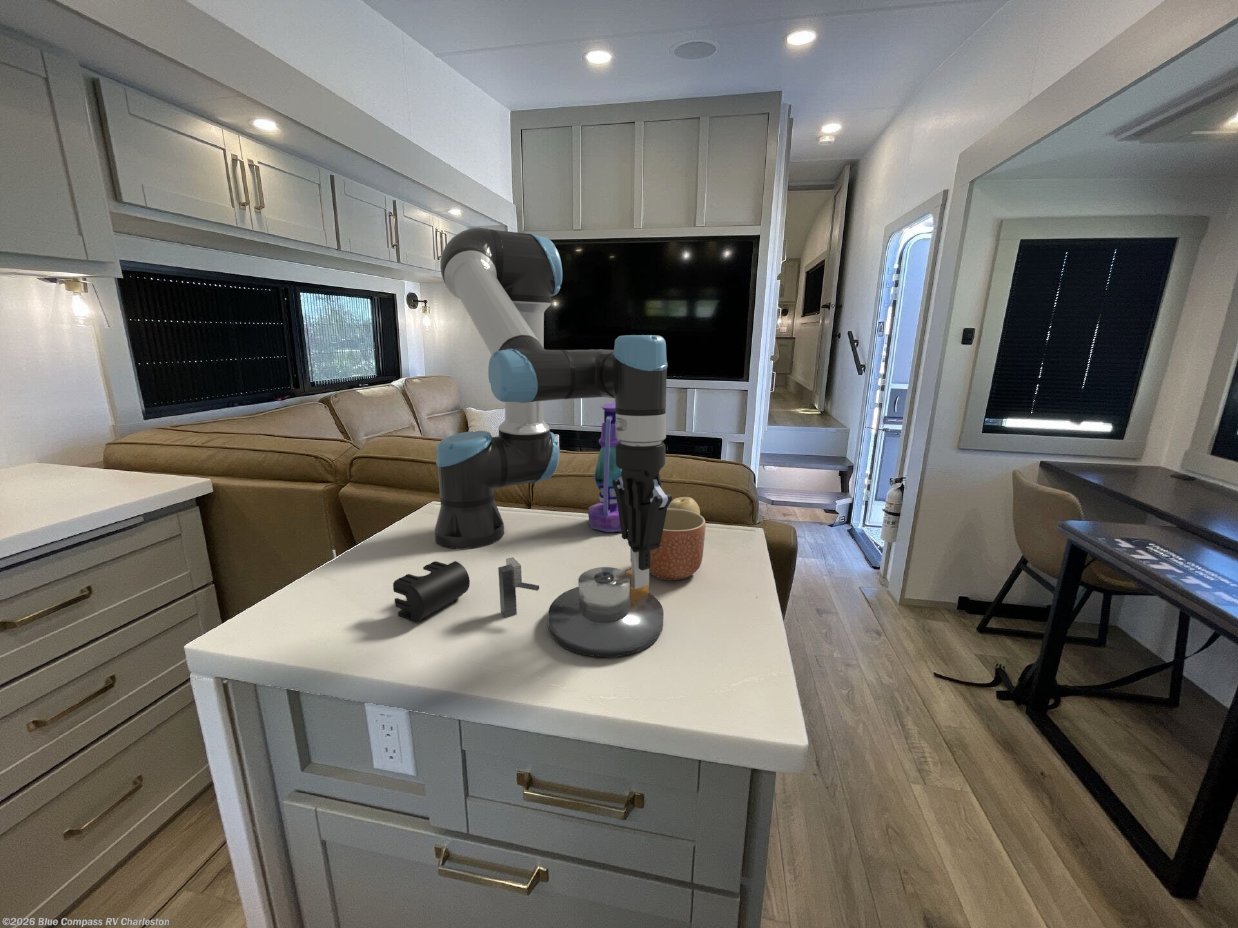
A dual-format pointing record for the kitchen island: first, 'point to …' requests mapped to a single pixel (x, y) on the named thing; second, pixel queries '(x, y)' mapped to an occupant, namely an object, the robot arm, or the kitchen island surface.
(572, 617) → the turntable
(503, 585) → the gray post with pin
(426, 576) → the end cap
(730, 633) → the kitchen island surface
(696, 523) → the planter
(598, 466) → the lantern
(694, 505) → the apple
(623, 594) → the cover
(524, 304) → the robot arm
